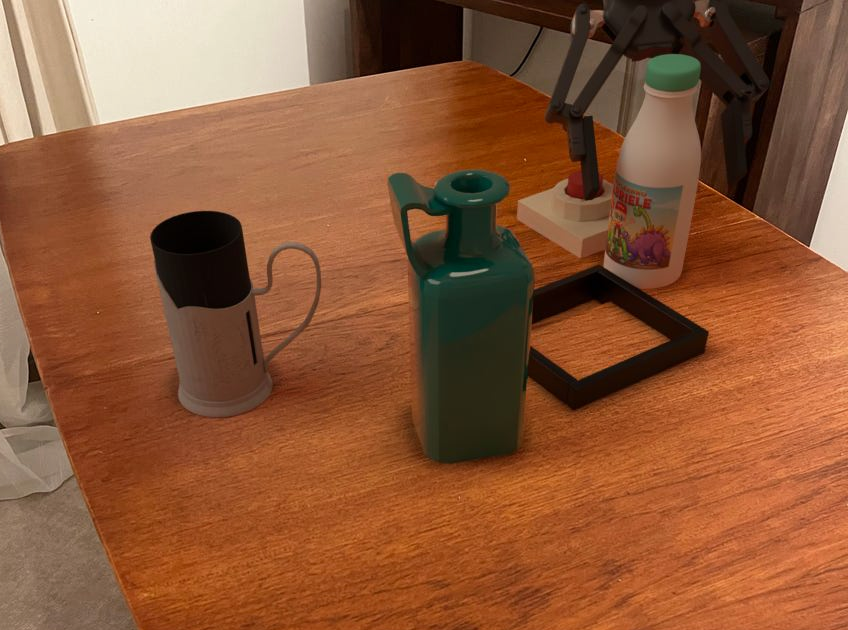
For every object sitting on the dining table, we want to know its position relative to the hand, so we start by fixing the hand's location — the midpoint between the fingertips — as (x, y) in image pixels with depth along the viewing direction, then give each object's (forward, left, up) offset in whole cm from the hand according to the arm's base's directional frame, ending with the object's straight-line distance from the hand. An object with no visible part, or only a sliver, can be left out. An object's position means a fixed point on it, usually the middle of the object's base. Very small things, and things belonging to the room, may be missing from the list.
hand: (665, 187), depth 93 cm
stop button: (+14, -3, -7) cm, 16 cm away
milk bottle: (+2, -1, -10) cm, 11 cm away
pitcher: (-9, +29, -10) cm, 32 cm away
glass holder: (+8, +40, -10) cm, 42 cm away
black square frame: (-5, +12, -10) cm, 17 cm away
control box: (+14, -3, -10) cm, 18 cm away
